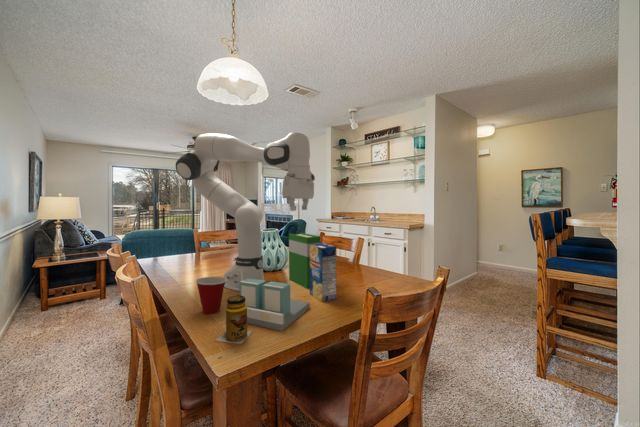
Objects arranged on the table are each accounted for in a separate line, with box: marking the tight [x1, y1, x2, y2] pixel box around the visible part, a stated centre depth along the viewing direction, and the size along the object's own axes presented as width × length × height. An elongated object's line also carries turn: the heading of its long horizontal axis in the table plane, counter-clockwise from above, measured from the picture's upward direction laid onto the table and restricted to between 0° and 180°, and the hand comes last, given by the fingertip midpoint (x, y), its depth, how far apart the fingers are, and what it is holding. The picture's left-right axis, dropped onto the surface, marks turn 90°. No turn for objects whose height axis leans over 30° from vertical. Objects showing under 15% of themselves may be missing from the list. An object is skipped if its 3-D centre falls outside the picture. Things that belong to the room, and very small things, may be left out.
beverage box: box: [309, 242, 338, 303], centre depth 114 cm, size 7×11×22 cm, turn 29°
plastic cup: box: [195, 276, 227, 315], centre depth 99 cm, size 11×11×12 cm
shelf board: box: [247, 298, 311, 332], centre depth 97 cm, size 20×20×5 cm
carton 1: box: [238, 278, 267, 310], centre depth 96 cm, size 8×5×10 cm, turn 66°
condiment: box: [215, 294, 253, 345], centre depth 81 cm, size 7×8×12 cm
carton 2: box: [262, 281, 291, 318], centre depth 92 cm, size 8×5×10 cm, turn 66°
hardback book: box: [288, 232, 321, 290], centre depth 133 cm, size 18×7×24 cm, turn 35°
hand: (299, 210), depth 106 cm, fingers open, 8 cm apart
